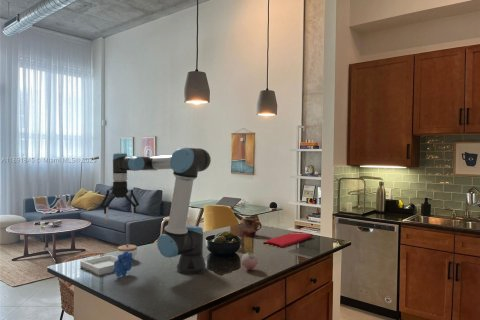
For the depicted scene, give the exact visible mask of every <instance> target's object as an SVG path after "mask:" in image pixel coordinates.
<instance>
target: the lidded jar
mask: <svg viewBox="0 0 480 320" xmlns="http://www.w3.org/2000/svg"><path fill="white" fill-rule="evenodd" d="M116 249H117V257H118V256H119V255H120V254H123V253H124V252H125V251H127V252H128V253H132V258H133V259H135V258H136V256H137V253H138V252H137V251H138V246H137V245H135V244H129V243H127V244H123V245H119V246H118V247H117V248H116Z"/></svg>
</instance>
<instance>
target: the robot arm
mask: <svg viewBox="0 0 480 320" xmlns="http://www.w3.org/2000/svg"><path fill="white" fill-rule="evenodd" d="M211 160H212V159H211V155H210V153H209V152H208V151H207V150H205V149H203V148H195V147H181V148H177V149H175V150H174V151H173V152H172V154H169V155H168V154H167V155H158V156H138V155H137V156H136V155H135V156H128V154H127V153H125V152H124V153H123V152H118V153H117V152H116V153H113V155H112V190H111V189H107V190H106V194H105V196H104V198H103V200H102V202H101V204H100V207H101V208H103V213H104V214H105V219H106V221H108V220H109V207H108V206H109V205H110V204H111V203H112V201H114V199H115V198H117V199H119V198H121V199H123V198H125V199H126V200H127V202H129V203H130V204H131V220H134V218H135V217H134V216H135V215H134V214H136V212H137V207H138V206H139V205H140V202H139V200H138V199H137V197H136V196H135V193H134V189H133V188H132V189H128V171H134V172H136V171H137V172H139V171H155V170H157V171H158V170H172V174H173V176H174V177H175V179H174V180H175V181H174V186H173V194H172V198H171V206H170V209H169V210H170V211H169V212H170V213H169V217H168V218H169V219H168V223H167V225H165V227H164V228H163V234H160V235H159V237H158V238H157V241H156V242H157V243H156V245H157V249H158V251H159V253H160V254H161V255H162V256H163V257H165V258H167V259H168V258H175V257H177V256H179V260H178V263H177V264H176V265H177V266H176V272H178V273H179V274H183V275H195V274H196V275H197V274H202V273H203V272H204V273H205V271H206V270H207V265H206V264H207V263H205V258H204V252H203V249H204V231H203V228H202V227H201V226H198V225H197V226H196V225H187V220H188V214H189V209H190V202H191V196H192V190H193V184H194V181H195V180H196V179H197V178H198V173H199V172H204V171H206V170H207V169H208V168H209V166H210V165H211V162H212V161H211ZM111 193H112V194H113V195H112V196H111V198H110V199H109V200H108V197H109V195H110V194H111ZM128 193H129V194H131V197H132V199H133V200H132V199H131V198H130V197H129V196H128V195H127V194H128ZM107 200H108V201H107ZM106 202H107V203H106ZM105 203H106V204H105Z"/></svg>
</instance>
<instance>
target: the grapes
mask: <svg viewBox="0 0 480 320" xmlns="http://www.w3.org/2000/svg"><path fill="white" fill-rule="evenodd" d="M117 257H118V260H116V261H115V262H114V266H115V268H114V271H113V272H112V273H114V274H115V275H116V277H118V278H119V277H121V276H122V277H123V276H126V275H127V274H128V272H129V271H131V269H132V264H133V263H134V259H135V258H134V259H133V258H132V253H128V252H127V251H125V252H124V253H123V254H120V255H119V256H118V255H117Z"/></svg>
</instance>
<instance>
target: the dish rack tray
mask: <svg viewBox="0 0 480 320" xmlns="http://www.w3.org/2000/svg"><path fill="white" fill-rule="evenodd" d="M116 260H118V256H115V255H113V254H107V255H103V256H99V257H93V258H89V259H85V260H80V265H79V266H80V267H81V268H80V269H82V268H83V270H84V271H87V272H90V273H91V274H94V275H96V276H103V275H106V274H109V273H114V272H113V271H114V268H115V266H114V262H115V261H116Z"/></svg>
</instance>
